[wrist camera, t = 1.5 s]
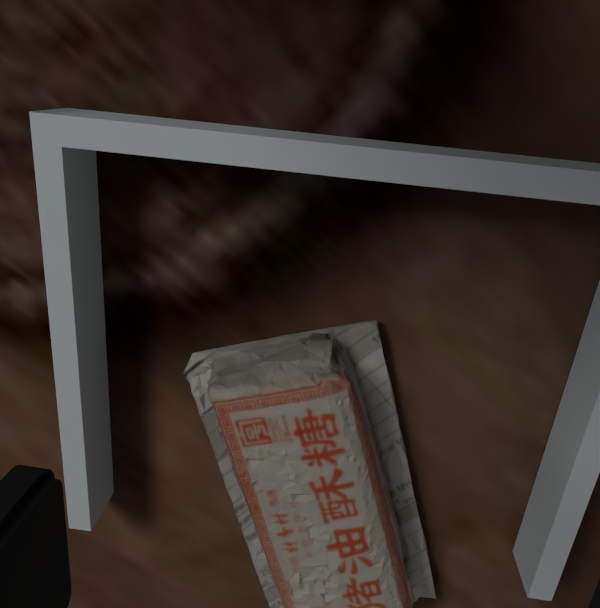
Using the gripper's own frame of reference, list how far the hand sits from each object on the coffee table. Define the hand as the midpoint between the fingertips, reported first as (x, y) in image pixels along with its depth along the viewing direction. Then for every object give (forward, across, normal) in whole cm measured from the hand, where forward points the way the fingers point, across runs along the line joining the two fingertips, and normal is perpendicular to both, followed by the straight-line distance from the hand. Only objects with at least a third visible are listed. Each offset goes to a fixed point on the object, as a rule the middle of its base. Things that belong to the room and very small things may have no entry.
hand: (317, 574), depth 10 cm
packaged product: (+18, 0, +12) cm, 22 cm away
